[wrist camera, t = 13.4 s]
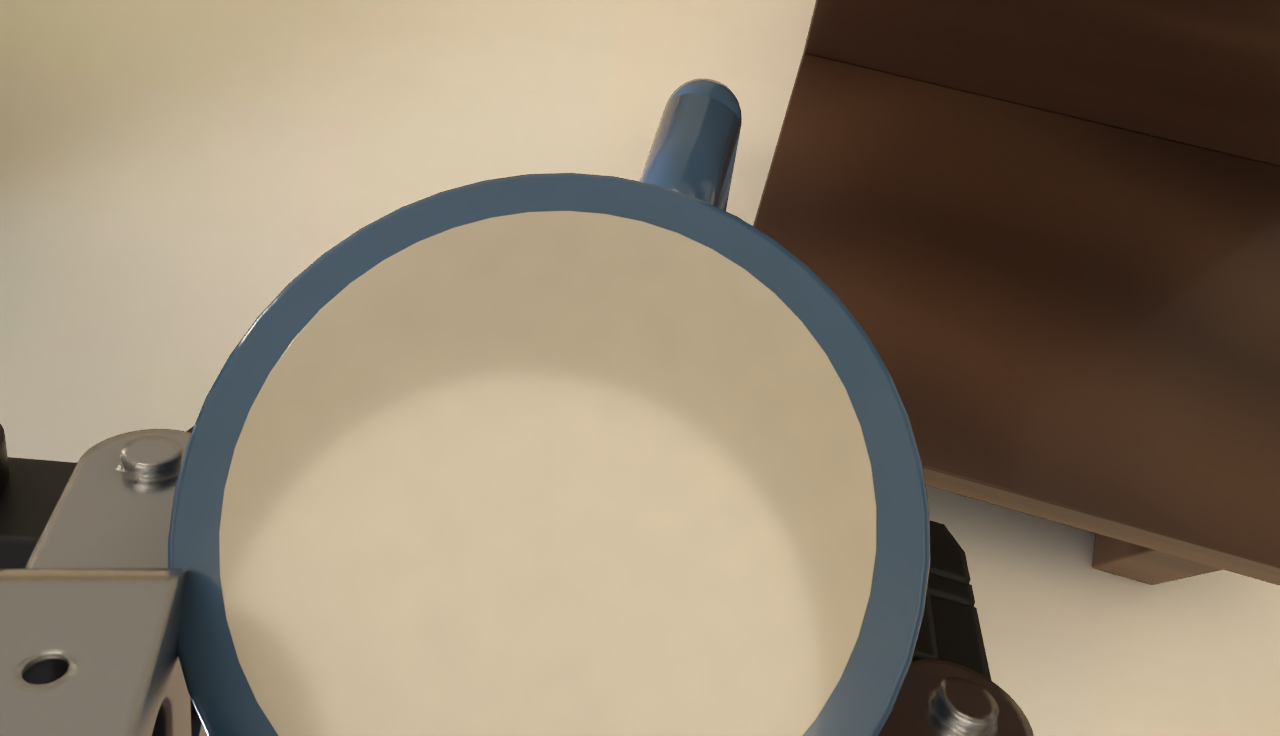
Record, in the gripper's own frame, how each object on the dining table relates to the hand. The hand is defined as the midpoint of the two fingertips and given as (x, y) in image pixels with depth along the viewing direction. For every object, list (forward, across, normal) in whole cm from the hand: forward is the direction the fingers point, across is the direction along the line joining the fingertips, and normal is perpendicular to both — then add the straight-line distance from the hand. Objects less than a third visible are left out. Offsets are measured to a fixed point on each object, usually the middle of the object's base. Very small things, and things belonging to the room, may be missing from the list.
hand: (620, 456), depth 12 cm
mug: (+2, 0, +3) cm, 4 cm away
